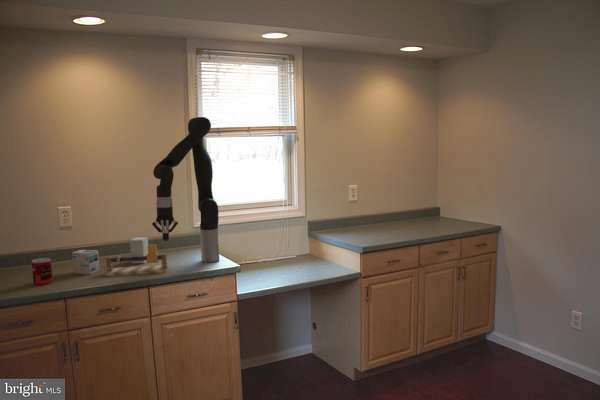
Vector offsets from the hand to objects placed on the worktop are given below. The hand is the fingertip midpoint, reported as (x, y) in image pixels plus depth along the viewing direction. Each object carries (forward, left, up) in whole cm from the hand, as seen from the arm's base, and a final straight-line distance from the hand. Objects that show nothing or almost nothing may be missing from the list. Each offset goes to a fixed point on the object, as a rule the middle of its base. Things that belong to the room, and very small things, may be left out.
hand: (165, 240), depth 242 cm
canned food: (+54, +11, -15) cm, 57 cm away
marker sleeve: (+7, 0, -10) cm, 12 cm away
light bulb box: (+39, -4, -15) cm, 42 cm away
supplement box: (+16, -20, -15) cm, 30 cm away
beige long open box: (+14, 0, -15) cm, 21 cm away
